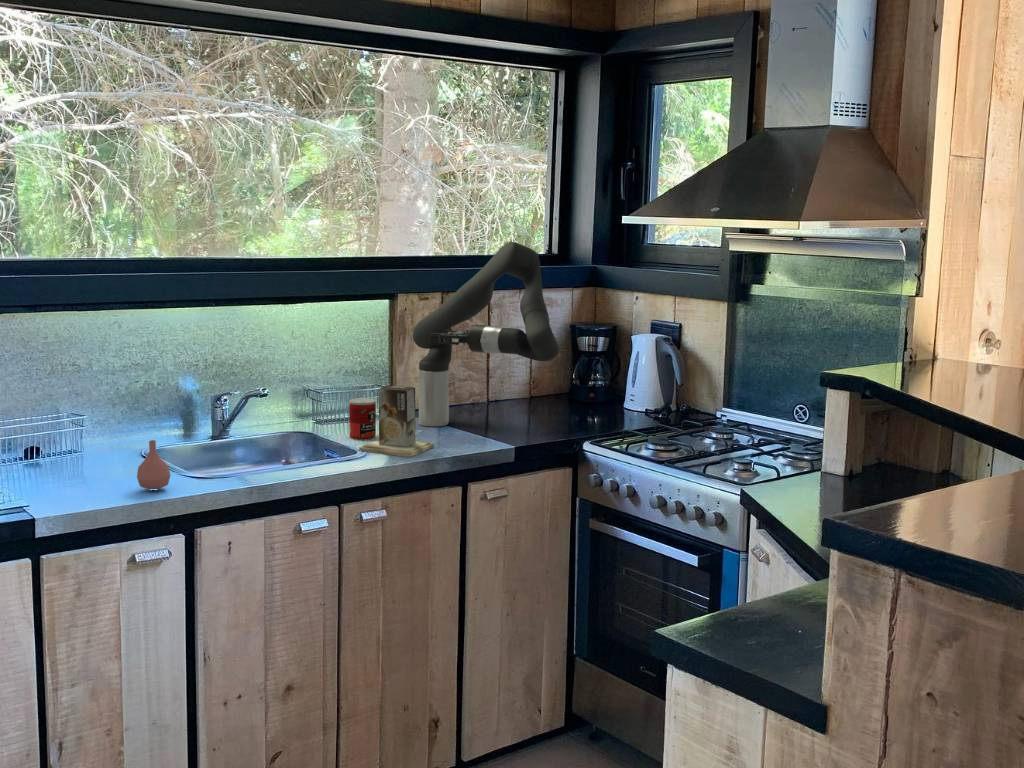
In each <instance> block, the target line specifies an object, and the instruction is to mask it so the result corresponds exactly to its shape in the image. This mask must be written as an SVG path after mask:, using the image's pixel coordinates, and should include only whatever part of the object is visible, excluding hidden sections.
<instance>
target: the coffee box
mask: <svg viewBox="0 0 1024 768" xmlns="http://www.w3.org/2000/svg"><path fill="white" fill-rule="evenodd" d="M377 392H378V395H377V396H378V397H377V399H378V403H377V404H378V440H379V445H390V446H403V447H409V446H411V445H413V444H415V443H416V441H417V439H416V386H415V387H413V386H399V385H383V386H382V387H380V388H378V390H377Z"/></svg>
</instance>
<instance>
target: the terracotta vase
mask: <svg viewBox="0 0 1024 768" xmlns="http://www.w3.org/2000/svg"><path fill="white" fill-rule="evenodd" d="M156 441H157V440H154V439H152V440H149V441H148V446H149V447H148V448H149V451H148V453H147V454H146V457H145V459H144V460H143V461H142V462H141V463H140V464H139V466H138V467H137V472H136V478H137V481H138V484H139V487H140V488H143V489H147V490H149V489H159V488H160V489H162V488H164V487H167V486H168V485H169V482H170V479H171V471H170V468H169V465H168V464H167V462H165V461H164V460H163V459H162V458H161V456H160V454H159V453H158V451H157V442H156ZM160 489H159V490H160Z"/></svg>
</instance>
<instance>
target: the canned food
mask: <svg viewBox="0 0 1024 768" xmlns="http://www.w3.org/2000/svg"><path fill="white" fill-rule="evenodd" d="M348 404H349V405H348V410H349V411H348V416H349V418H348V421H349V423H348V424H349V429H348V430H349V431H348V432H349V437H350V438H351V439H353V440H359V441H360V439H362V440H363V441H365V439H367V440H372V439H374V438H375V437H376V435H377V434H376V431H377V429H376V428H377V423H376V422H377V421H376V419H377V418H376V417H377V415H376V414H377V408H376V407H377V406H376V405H377V404H376V400H375V399H374V398H367V397H362V398H361V397H359V398H358V397H357V398H352V399H350V400H349V402H348Z"/></svg>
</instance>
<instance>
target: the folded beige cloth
mask: <svg viewBox="0 0 1024 768" xmlns="http://www.w3.org/2000/svg"><path fill="white" fill-rule="evenodd" d="M434 446H435V444H434V443H431V442H429V441H419V440H416V443H415V444H413V445H411V446H409V447H403V446H390V445H379V439H378V440H374V441H372V442H369V443H365V444H364V445H362V446H359V447H358V451H359V452H364V451H368V452H367V453H372V454H380V453H381V455H388V454H389V456H395V455H396V456H395V457H397V456H399V457H403V456H404V457H405V458H411V457H413V456H415V455H418V454H421V453H423V452H426V451H428V450H430V448H431V449H433V448H434ZM432 447H433V448H432ZM427 449H428V450H427ZM360 450H361V451H360ZM425 450H426V451H425ZM420 452H421V453H420Z"/></svg>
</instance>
